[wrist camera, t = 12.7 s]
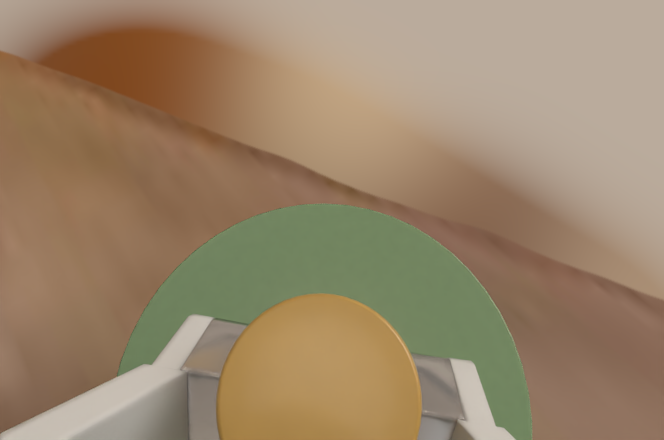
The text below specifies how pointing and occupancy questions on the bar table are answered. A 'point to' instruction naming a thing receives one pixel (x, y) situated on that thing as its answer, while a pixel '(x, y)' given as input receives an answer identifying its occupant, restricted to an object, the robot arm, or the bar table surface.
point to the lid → (334, 325)
